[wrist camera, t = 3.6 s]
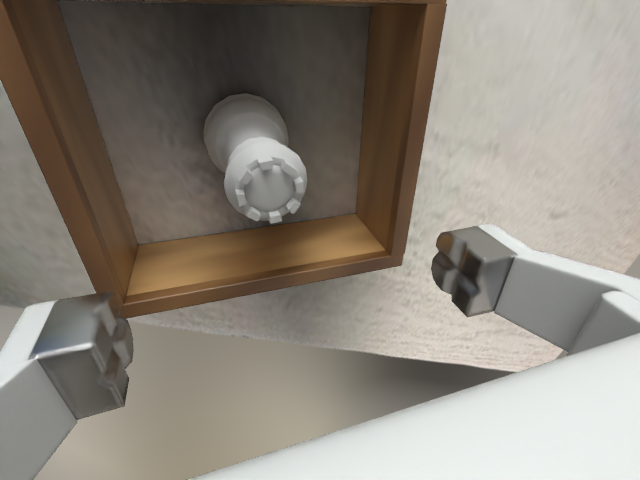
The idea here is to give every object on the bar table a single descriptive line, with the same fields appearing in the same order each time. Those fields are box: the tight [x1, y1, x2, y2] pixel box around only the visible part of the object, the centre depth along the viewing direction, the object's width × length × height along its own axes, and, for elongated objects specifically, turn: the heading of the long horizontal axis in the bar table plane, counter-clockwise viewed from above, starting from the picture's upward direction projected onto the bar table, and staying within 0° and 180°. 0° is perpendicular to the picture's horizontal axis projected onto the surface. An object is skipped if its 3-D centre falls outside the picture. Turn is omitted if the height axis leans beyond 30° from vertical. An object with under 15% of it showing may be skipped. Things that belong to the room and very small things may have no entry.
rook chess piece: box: [203, 93, 307, 224], centre depth 16 cm, size 4×4×8 cm
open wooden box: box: [0, 0, 447, 319], centre depth 17 cm, size 16×14×6 cm
